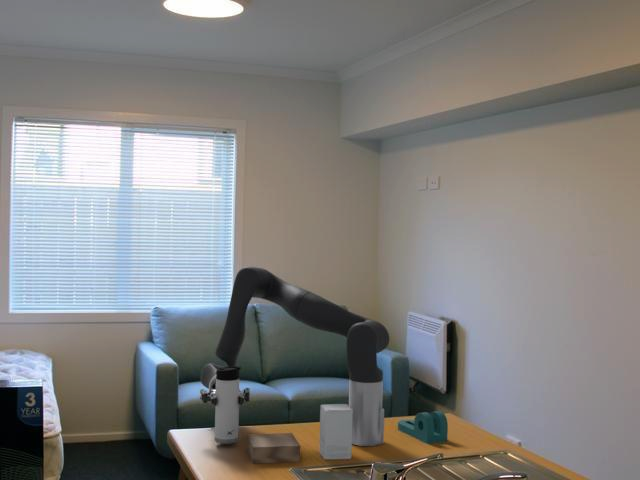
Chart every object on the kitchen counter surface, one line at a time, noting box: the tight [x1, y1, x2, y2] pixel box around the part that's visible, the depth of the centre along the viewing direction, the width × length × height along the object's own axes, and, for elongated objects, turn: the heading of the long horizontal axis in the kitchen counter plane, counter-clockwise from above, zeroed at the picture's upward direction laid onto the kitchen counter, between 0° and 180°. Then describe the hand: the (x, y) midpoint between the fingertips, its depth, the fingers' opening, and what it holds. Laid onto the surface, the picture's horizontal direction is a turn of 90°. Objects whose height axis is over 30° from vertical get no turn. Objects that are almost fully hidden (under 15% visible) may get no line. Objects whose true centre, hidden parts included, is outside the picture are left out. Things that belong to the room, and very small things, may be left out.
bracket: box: [397, 410, 449, 445], centre depth 218 cm, size 18×7×8 cm, turn 25°
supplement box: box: [318, 403, 353, 460], centre depth 195 cm, size 7×7×13 cm
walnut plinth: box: [246, 432, 301, 464], centre depth 194 cm, size 12×12×4 cm
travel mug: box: [214, 365, 242, 445], centre depth 202 cm, size 6×7×20 cm
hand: (228, 401), depth 200 cm, fingers closed on travel mug, 6 cm apart
